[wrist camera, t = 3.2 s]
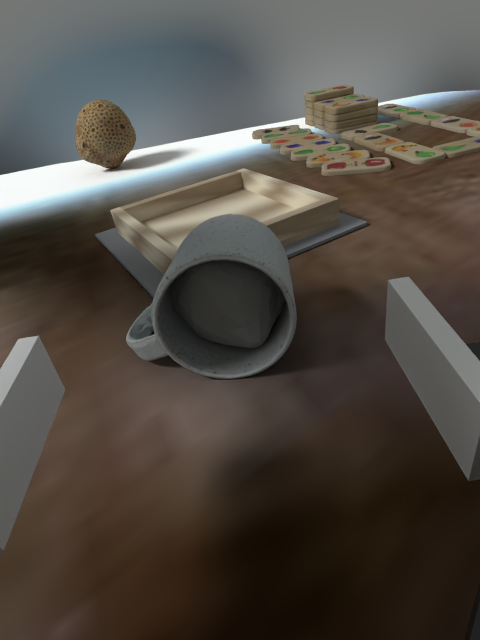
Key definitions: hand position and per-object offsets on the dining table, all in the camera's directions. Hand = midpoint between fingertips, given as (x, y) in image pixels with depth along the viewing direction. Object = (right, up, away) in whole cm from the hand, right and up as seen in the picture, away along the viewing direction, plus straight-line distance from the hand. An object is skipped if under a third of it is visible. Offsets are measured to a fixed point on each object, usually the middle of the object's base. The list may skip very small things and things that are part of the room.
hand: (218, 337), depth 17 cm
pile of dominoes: (+20, +27, +49) cm, 60 cm away
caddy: (-1, +10, +26) cm, 28 cm away
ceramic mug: (-1, -1, +11) cm, 11 cm away
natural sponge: (-19, +25, +54) cm, 63 cm away
